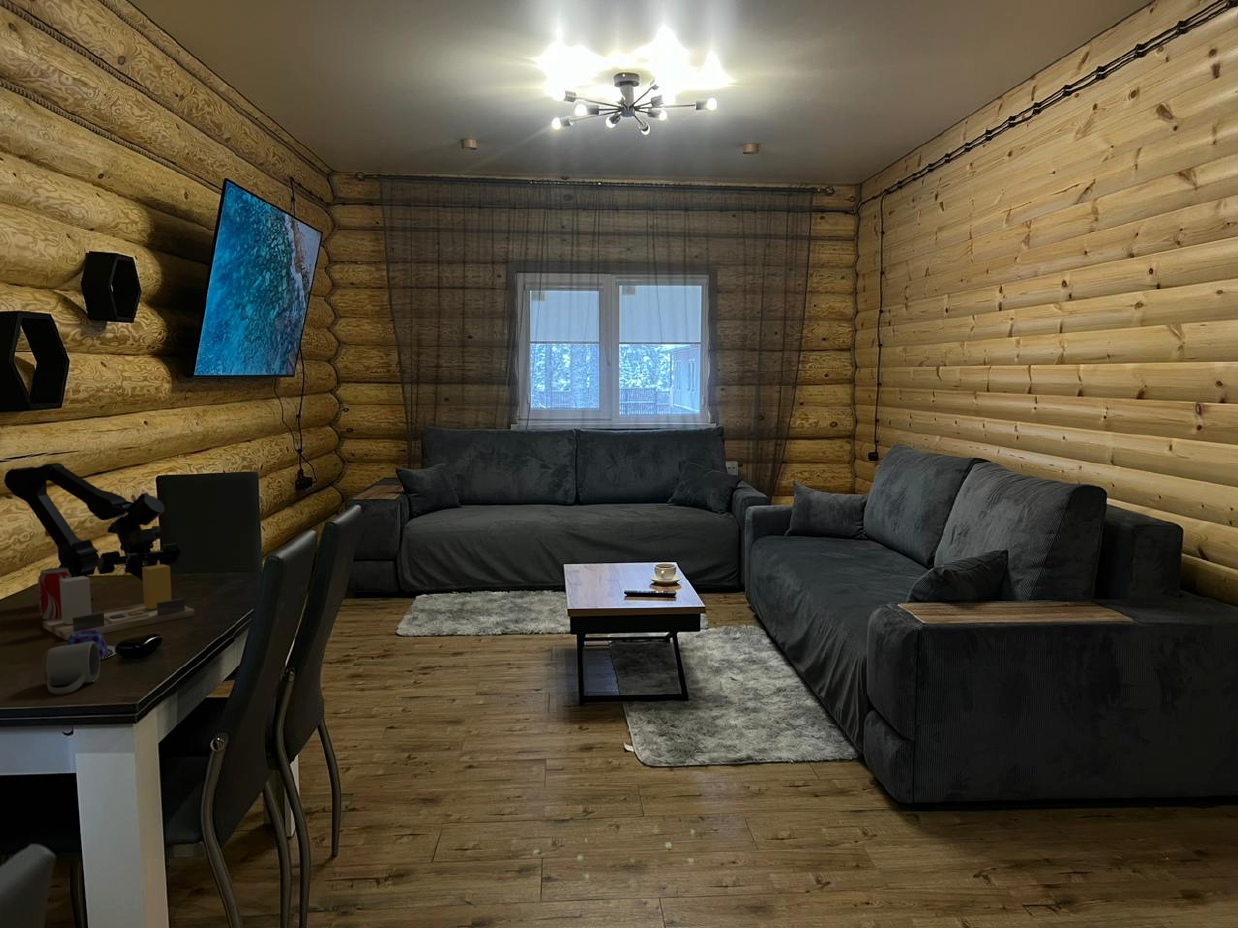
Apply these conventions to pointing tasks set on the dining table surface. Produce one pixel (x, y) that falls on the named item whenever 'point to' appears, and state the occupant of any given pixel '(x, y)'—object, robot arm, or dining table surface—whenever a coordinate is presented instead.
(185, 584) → the dining table surface
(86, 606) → the white tall rectangular block
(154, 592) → the large amber box
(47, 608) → the soda can
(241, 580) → the dining table surface
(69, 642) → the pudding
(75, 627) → the key board
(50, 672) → the ceramic mug
